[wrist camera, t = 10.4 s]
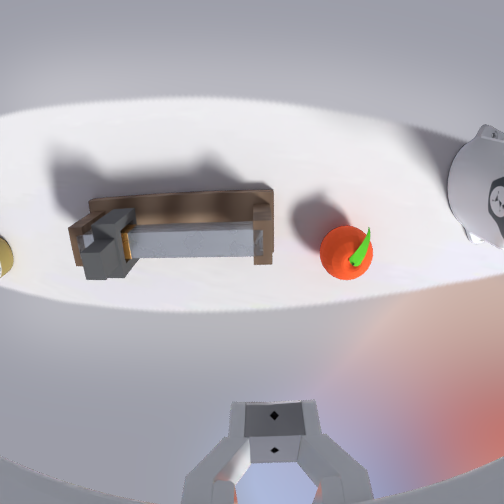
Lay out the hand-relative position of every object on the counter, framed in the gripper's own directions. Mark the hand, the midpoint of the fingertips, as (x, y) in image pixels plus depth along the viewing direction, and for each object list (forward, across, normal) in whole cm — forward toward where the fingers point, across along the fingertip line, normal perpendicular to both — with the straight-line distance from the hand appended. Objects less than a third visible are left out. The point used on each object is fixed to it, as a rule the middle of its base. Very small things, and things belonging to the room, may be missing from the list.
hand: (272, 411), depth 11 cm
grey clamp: (+29, +17, +3) cm, 34 cm away
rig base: (+33, +11, +3) cm, 35 cm away
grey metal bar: (+28, +11, +3) cm, 30 cm away
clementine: (+33, -11, +6) cm, 36 cm away
